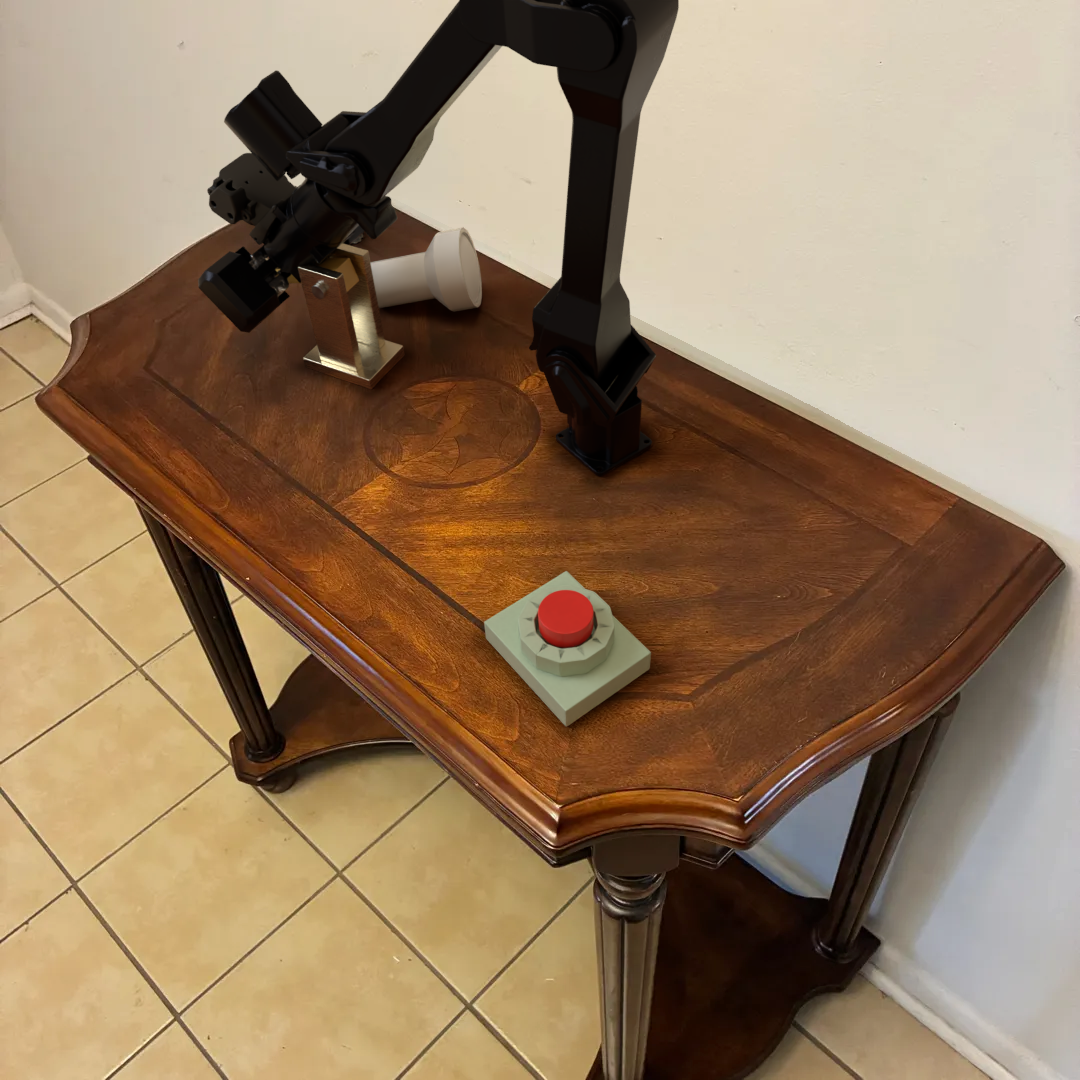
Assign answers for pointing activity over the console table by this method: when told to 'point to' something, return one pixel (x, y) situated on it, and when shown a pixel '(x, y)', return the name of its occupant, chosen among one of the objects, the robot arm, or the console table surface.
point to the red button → (565, 618)
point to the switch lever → (337, 265)
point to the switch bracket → (347, 322)
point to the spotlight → (432, 274)
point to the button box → (568, 653)
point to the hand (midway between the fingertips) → (254, 289)
